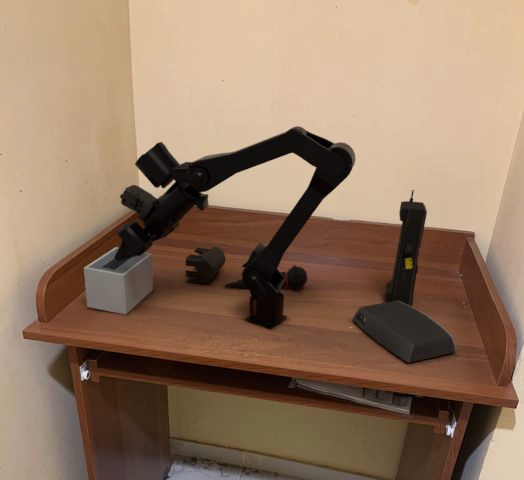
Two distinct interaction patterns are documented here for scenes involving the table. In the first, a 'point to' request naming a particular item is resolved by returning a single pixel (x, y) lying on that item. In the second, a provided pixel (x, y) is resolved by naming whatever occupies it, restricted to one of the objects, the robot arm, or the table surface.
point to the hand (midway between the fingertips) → (126, 252)
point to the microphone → (294, 276)
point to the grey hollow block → (118, 282)
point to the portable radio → (407, 252)
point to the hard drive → (405, 331)
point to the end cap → (204, 264)
